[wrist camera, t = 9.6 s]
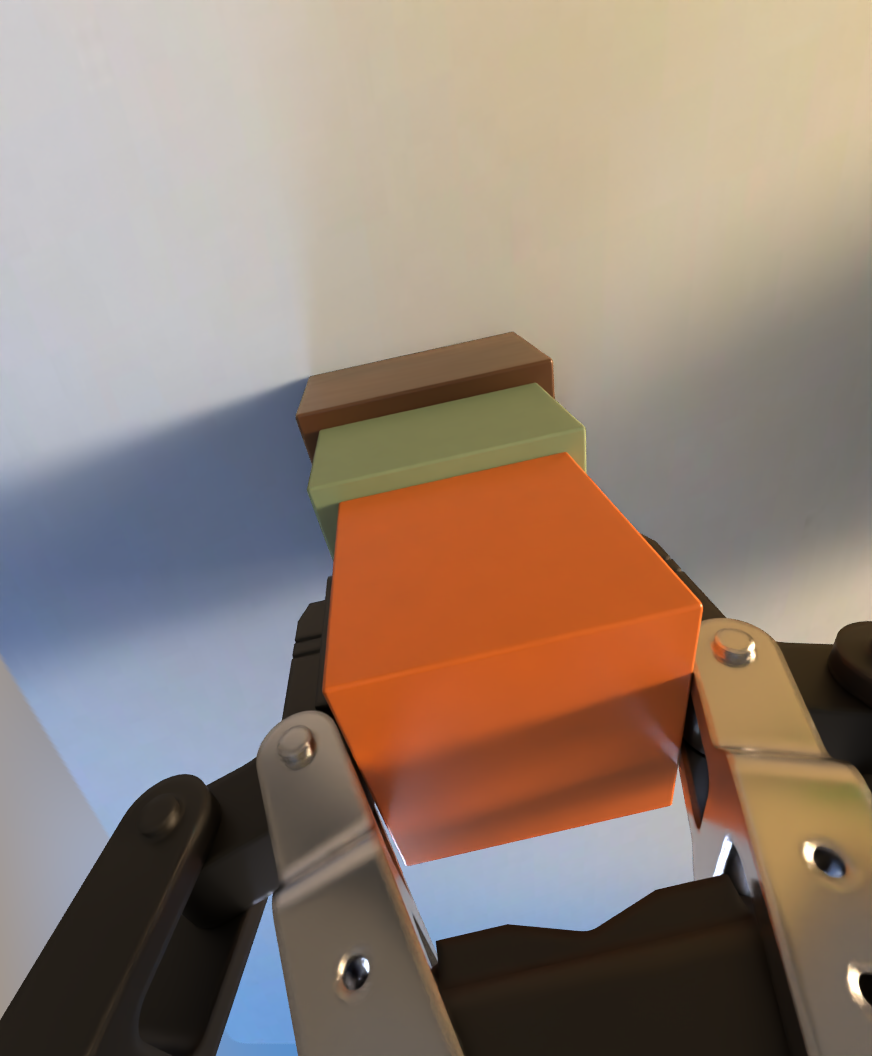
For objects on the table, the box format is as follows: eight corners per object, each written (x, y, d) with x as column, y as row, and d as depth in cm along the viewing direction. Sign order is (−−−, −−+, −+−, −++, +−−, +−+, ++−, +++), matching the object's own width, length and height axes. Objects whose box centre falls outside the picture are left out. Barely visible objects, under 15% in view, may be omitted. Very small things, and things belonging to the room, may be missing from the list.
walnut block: (363, 545, 20) (363, 611, 16) (308, 376, 16) (294, 415, 13) (529, 508, 20) (563, 565, 17) (514, 330, 16) (554, 358, 13)
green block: (374, 596, 16) (376, 679, 13) (318, 429, 13) (305, 489, 10) (548, 557, 16) (589, 630, 13) (536, 381, 13) (587, 426, 10)
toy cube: (391, 660, 13) (405, 868, 9) (337, 501, 10) (319, 692, 6) (573, 619, 13) (673, 807, 9) (567, 450, 10) (706, 604, 6)
